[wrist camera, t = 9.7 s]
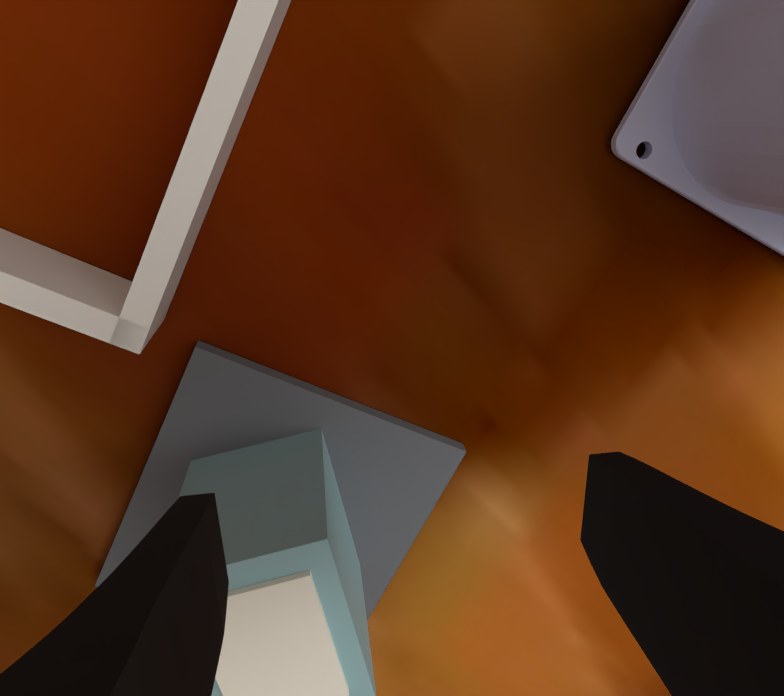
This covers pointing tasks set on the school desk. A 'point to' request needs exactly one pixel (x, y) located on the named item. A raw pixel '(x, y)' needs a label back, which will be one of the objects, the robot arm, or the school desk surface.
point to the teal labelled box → (286, 572)
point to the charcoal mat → (287, 418)
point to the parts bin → (174, 220)
